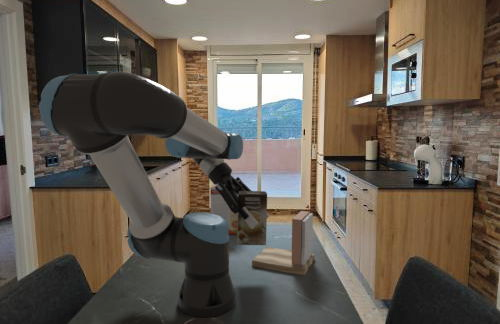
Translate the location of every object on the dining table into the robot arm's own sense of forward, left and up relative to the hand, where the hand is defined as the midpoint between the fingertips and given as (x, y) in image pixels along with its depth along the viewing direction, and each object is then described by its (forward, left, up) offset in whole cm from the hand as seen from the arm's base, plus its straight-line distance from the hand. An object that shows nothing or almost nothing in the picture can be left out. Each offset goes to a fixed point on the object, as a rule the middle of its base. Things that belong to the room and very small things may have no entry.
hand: (261, 222), depth 105 cm
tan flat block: (+12, -10, -15) cm, 21 cm away
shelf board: (+12, -4, -17) cm, 21 cm away
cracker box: (+34, +29, -17) cm, 48 cm away
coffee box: (0, +3, -7) cm, 8 cm away
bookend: (+12, -10, -15) cm, 22 cm away
